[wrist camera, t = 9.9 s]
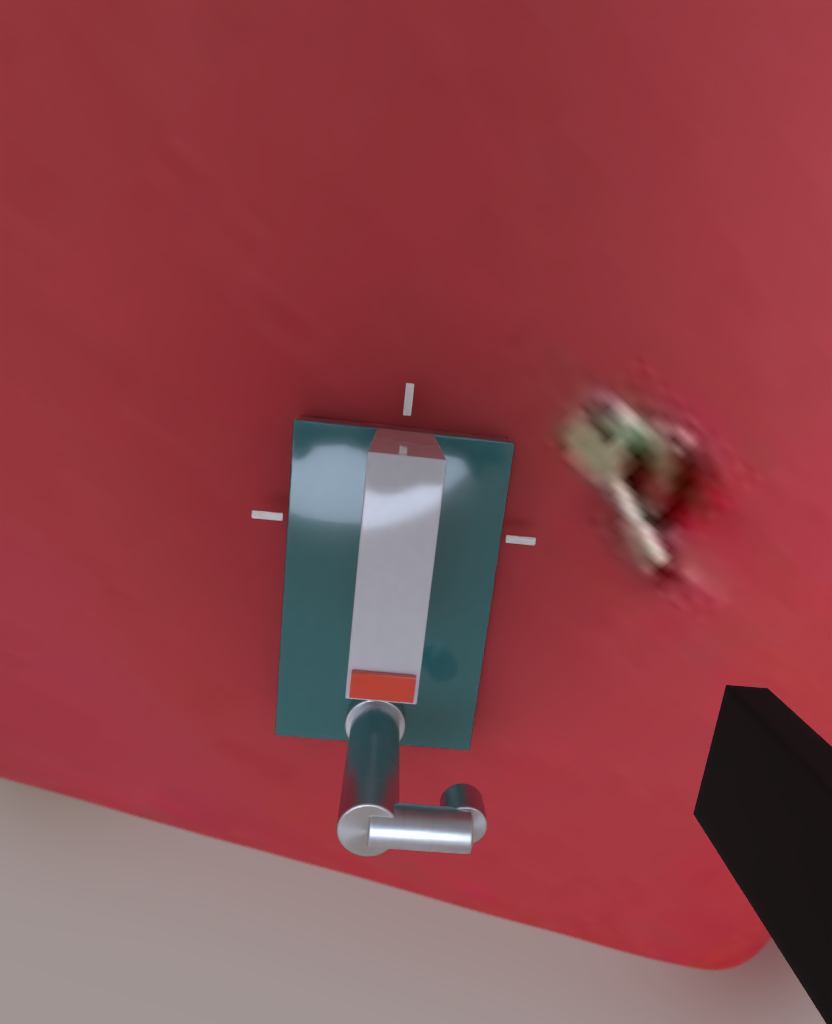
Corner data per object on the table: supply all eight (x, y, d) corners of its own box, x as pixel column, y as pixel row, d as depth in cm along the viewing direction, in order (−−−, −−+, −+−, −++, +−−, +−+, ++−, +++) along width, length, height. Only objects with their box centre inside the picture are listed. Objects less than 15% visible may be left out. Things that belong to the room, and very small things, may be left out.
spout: (343, 741, 30) (324, 869, 23) (348, 688, 30) (330, 802, 22) (464, 750, 31) (485, 880, 23) (471, 698, 30) (496, 814, 22)
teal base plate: (268, 366, 28) (258, 366, 26) (546, 397, 29) (558, 399, 26) (252, 710, 32) (242, 735, 30) (494, 730, 33) (501, 755, 31)
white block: (376, 427, 27) (367, 452, 19) (434, 434, 27) (447, 461, 19) (358, 614, 29) (344, 702, 21) (412, 619, 29) (416, 708, 21)
